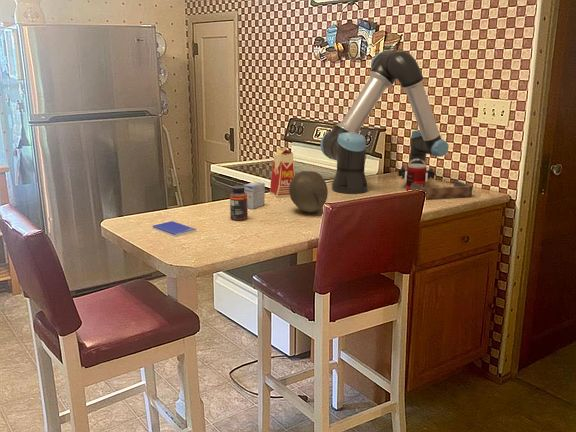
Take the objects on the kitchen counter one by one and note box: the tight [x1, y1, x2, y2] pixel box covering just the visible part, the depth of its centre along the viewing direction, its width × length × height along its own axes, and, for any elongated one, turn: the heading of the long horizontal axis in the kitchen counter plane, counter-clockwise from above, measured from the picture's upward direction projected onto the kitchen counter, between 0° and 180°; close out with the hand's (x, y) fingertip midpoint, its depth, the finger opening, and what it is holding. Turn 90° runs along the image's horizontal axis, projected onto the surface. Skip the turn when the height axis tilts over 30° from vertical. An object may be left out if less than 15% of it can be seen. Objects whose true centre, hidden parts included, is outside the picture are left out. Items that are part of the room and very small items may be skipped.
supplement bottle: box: [229, 185, 249, 222], centre depth 196 cm, size 6×6×11 cm
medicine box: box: [243, 181, 266, 210], centre depth 212 cm, size 8×4×9 cm, turn 149°
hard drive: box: [152, 220, 197, 238], centre depth 183 cm, size 2×8×12 cm
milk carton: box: [269, 146, 296, 198], centre depth 230 cm, size 9×9×20 cm
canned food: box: [405, 163, 427, 192], centre depth 242 cm, size 8×8×11 cm
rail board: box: [411, 180, 473, 201], centre depth 235 cm, size 22×11×4 cm, turn 107°
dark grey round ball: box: [289, 170, 329, 214], centre depth 205 cm, size 14×14×15 cm
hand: (416, 177), depth 238 cm, fingers closed on canned food, 8 cm apart
